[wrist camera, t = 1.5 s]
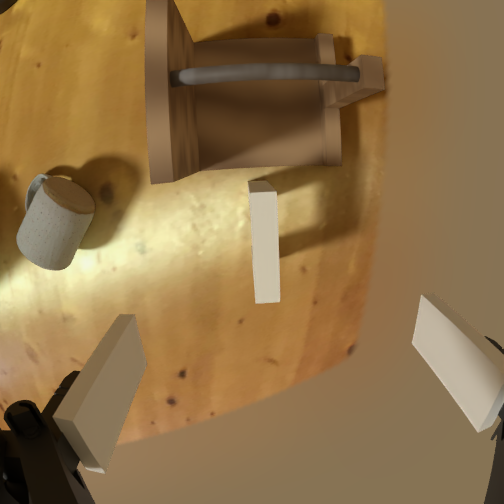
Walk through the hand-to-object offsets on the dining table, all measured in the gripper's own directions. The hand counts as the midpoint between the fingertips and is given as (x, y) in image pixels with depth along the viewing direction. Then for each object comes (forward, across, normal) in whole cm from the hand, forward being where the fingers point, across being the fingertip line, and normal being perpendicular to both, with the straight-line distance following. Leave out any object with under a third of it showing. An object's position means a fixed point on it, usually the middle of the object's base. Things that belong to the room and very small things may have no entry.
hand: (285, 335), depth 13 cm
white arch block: (+22, 0, 0) cm, 22 cm away
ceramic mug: (+22, -24, +4) cm, 32 cm away
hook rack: (+22, 0, +13) cm, 25 cm away
